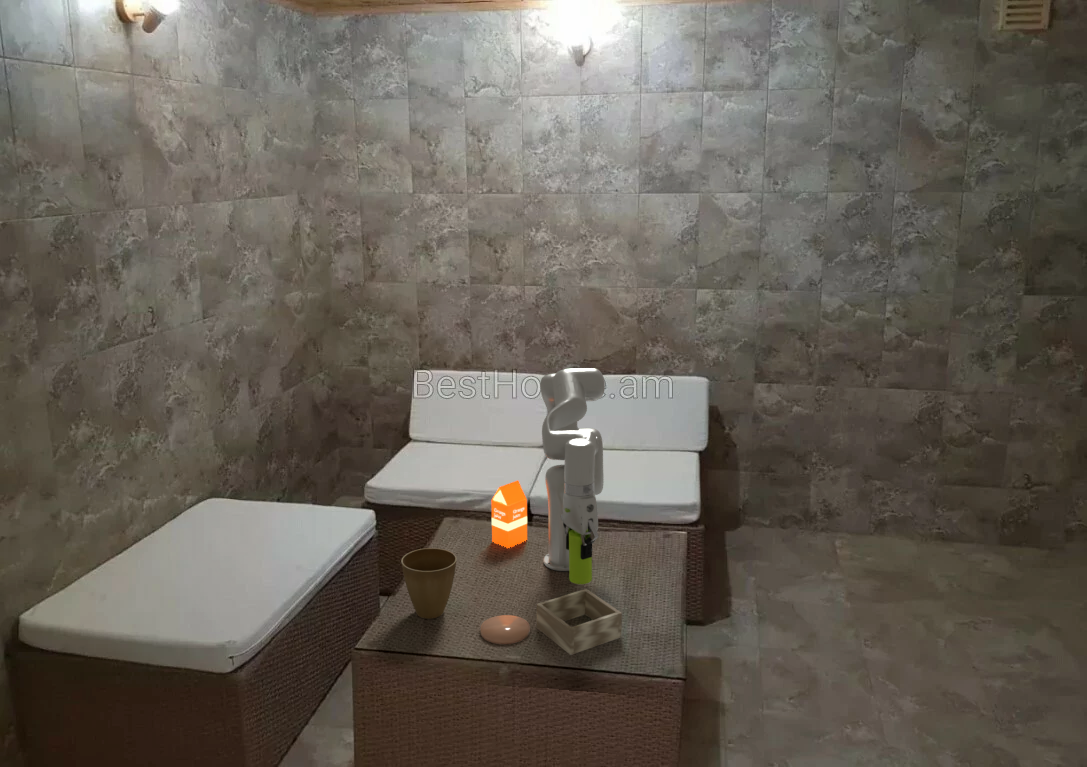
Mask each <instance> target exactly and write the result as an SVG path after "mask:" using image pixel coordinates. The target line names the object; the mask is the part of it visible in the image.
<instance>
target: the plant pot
mask: <svg viewBox="0 0 1087 767" xmlns="http://www.w3.org/2000/svg"><path fill="white" fill-rule="evenodd" d="M457 560H458V558H457V556H456V554H454V553H453V552H452V551H450V550H447V549H443V548H436V547H431V548H430V547H427V548H420V549H416V550H412V551H410V552H408V553H406V554H405V555H403V556H402V558H401V562H400V563H401V567H402V573H403V578H404V582H405V585H406V586H405V587H406V588H407V592H408V596H409V599H410V601H411V603H412V606H413V608H414V610H415V612H416V615H417V616H418V617H419V618H421V619H427V620H431V619H437V618H439V617H441V616H442V615H443V614H444V612H445V610H446V607H447V604H448V601H449V598H450V595H451V592H452V588H453V583H454V579H455V578H454V577H455V574H456V573H455V572H456V567H457Z"/></svg>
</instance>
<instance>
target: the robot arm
mask: <svg viewBox="0 0 1087 767" xmlns="http://www.w3.org/2000/svg"><path fill="white" fill-rule="evenodd" d="M539 382H540V383H539V386H540V387H539V388H540V393H541V397H542V400H543V402H544V405H545V407H546V410H547V415H546V416H545V417H544V420H543V422H542V427H541V437H542V438H541V439H542V448H543V453H544V455H545V457H546V458H547V459H549V460H552V461H564V464H556V465H553V466H550V467H549V468H548V469H547V470H546V473H545V476H544V477H545V478H544V479H545V485H546V493H547V504H548V507H547V508H548V553H547V554H545V556H543V564H544V566H545V567H546V568H548V569H551V570H554V571H558V572H569V531H570V530H572V529H573V530H575V531H576V532H578V533H580V534H581V539H582V545H581V559H582V560H583V559H587V558H590V557H592V558H593V549H594V548H593V544H594V542H595V541H596V540H597V539H598V538H599V533H598V531H599V516H598V514H599V512H598V504H597V497H596V496H598V495H601V493H602V492H603V490H604V482H605V481H604V480H605V479H604V477H605V476H604V447H603V446H604V444H603V443H604V442H603V437H602V434H601V432H600V431H599V430H598V429H596V428H593V427H592V428H591V427H585V428H579V427H578V422H579V421H580V420H582V419H583V418H584V417H585V416H586V414H587V411H588V405H587V402H596V401H598V400H600V399H601V398H602V397H603V396H604V393H605V389H606V387H605V386H606V384H605V382H606V381H605V378H604V375H603V373H602V371H600V369H598V368H594V367H593V368H592V367H591V368H589V367H586V368H585V367H584V368H582V367H580V368H579V367H577V368H564V369H561V370H558V371H557V372H556V373H550V374H549V373H548V374H545V375H544V376H542V377H541V378H540V381H539ZM565 508H567V509H569V510H570V512H565ZM587 529H588V532H586V530H587ZM585 535H588V538H587V539H586V538H585Z"/></svg>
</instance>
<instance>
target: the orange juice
mask: <svg viewBox="0 0 1087 767" xmlns="http://www.w3.org/2000/svg"><path fill="white" fill-rule="evenodd" d="M490 503H491V535H492V536H491V542H492V543H493V542H494V544H496V545H498V544H499V546H500V545H501V547H503V546H504V547H503V548H505V547H506V548H505V549H508V548H509V549H510V547H511V548H513V547H515V545H516V546H518V545H521V544H522V542H523V543H524V541H525V542H527V541H528V499H527V497H526V495H525V492H524V490H523V488H522V486H521V483H520V481H519V479H518V480H515V481H513V482H510V483H507V484H505V485H501V486H499V487H498V488H497V490H496V492H495V493H494V496H492V499H491V502H490ZM526 540H527V541H526ZM517 544H518V545H517Z"/></svg>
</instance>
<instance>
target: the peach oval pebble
mask: <svg viewBox="0 0 1087 767" xmlns="http://www.w3.org/2000/svg"><path fill="white" fill-rule="evenodd" d="M530 630H531V626H530V623H529V622H528V620H526V619H524V618H523V617H520V616H518V615H511V614H509V615H508V614H504V615H501V614H500V615H495V616H492V617H489V618H487V619H486V620H484V621H483V622H482V623H481V625H480V631H479V632H480V635H481V637H482V639H484V640H485V641H487V642H489V643H492V644H497V645H511V644H516V643H520V642H522V641H523V640H526V639H527V638H528V637H529V635H530V633H531V632H530Z"/></svg>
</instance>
